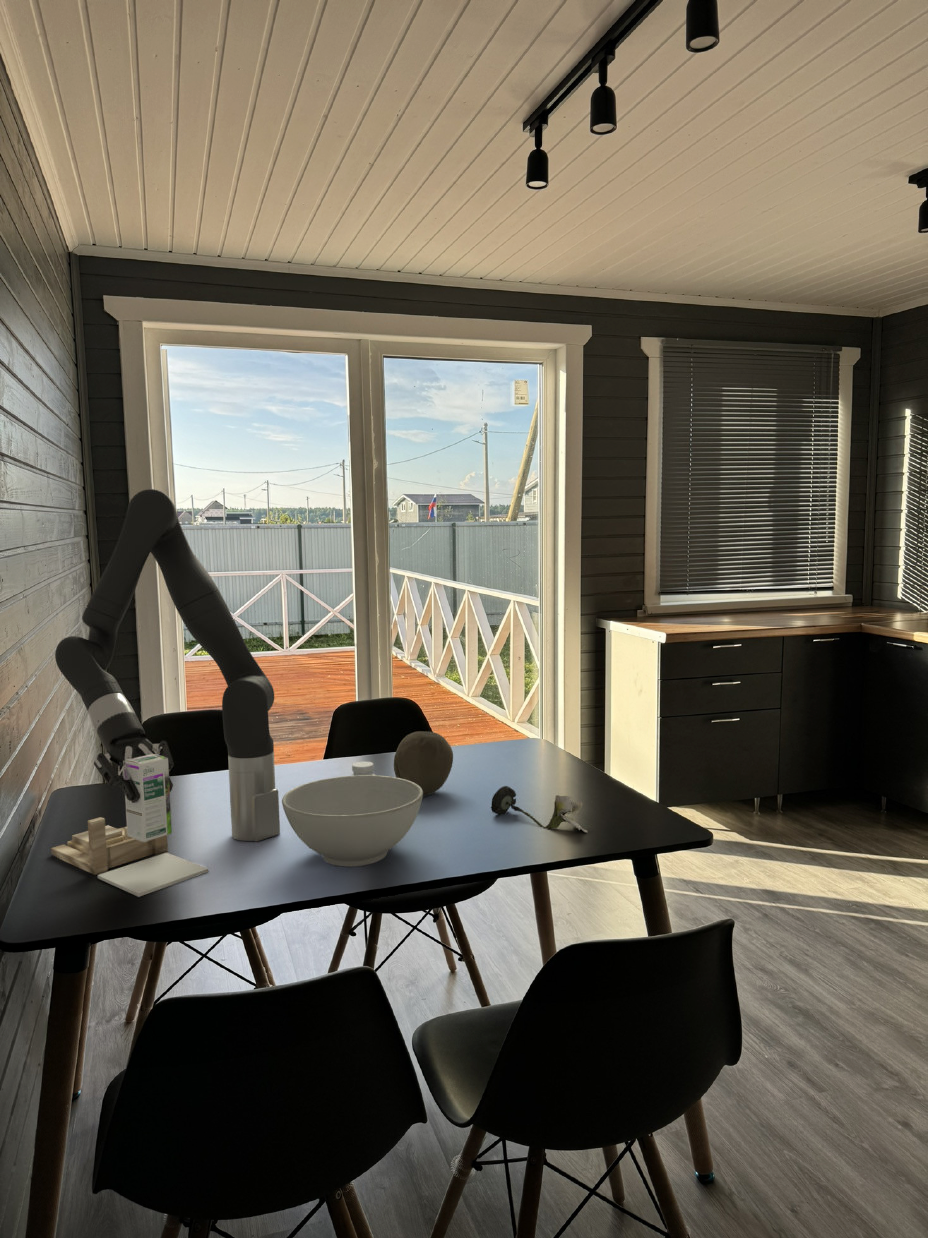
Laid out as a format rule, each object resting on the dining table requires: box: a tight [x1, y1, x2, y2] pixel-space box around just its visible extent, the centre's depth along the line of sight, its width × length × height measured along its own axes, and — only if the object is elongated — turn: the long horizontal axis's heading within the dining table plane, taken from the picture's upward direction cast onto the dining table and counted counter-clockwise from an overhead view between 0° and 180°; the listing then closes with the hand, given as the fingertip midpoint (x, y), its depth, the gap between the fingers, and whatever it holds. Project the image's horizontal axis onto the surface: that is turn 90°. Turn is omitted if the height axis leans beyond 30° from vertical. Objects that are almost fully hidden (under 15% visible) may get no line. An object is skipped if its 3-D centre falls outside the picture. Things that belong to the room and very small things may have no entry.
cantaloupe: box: [393, 730, 454, 797], centre depth 203 cm, size 14×14×15 cm
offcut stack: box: [66, 824, 125, 852], centre depth 171 cm, size 7×9×3 cm
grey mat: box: [97, 852, 210, 898], centre depth 156 cm, size 14×14×1 cm
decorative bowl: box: [281, 774, 424, 868], centre depth 164 cm, size 27×27×12 cm
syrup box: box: [123, 753, 173, 842], centre depth 155 cm, size 6×6×14 cm
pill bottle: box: [350, 761, 376, 776], centre depth 188 cm, size 6×6×12 cm
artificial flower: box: [490, 785, 588, 833], centre depth 180 cm, size 9×22×10 cm, turn 42°
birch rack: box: [50, 816, 169, 876], centre depth 168 cm, size 17×15×10 cm
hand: (152, 795), depth 154 cm, fingers closed on syrup box, 5 cm apart
